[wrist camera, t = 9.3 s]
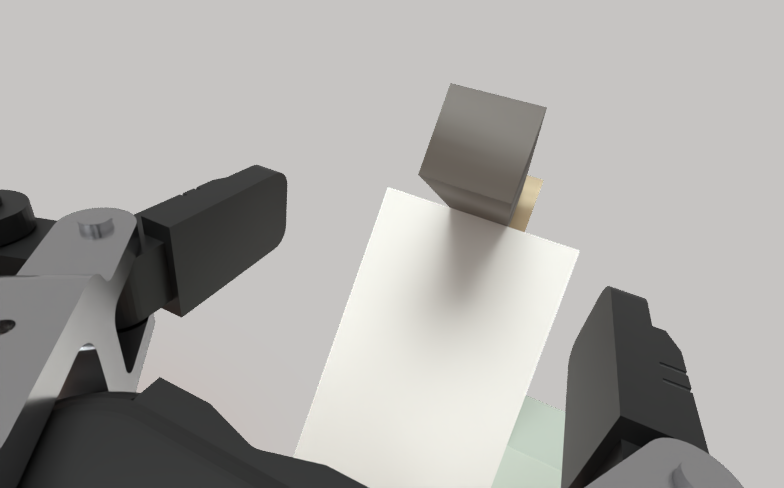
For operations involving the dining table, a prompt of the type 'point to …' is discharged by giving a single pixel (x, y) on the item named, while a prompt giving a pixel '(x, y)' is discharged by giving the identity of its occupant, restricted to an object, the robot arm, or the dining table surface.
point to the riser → (442, 356)
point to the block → (485, 156)
